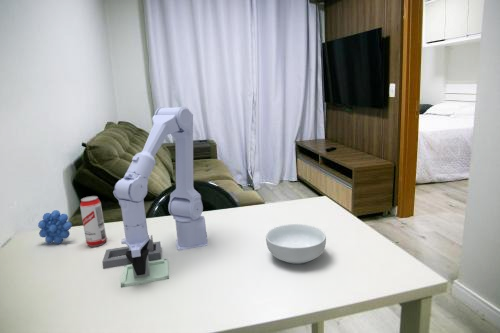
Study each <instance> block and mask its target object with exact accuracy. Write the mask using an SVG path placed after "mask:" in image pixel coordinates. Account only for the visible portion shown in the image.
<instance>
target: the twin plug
mask: <svg viewBox="0 0 500 333" xmlns="http://www.w3.org/2000/svg"><path fill="white" fill-rule="evenodd" d="M148 235H149V234H148ZM149 238H150V241H149V244H148V247H147V249H149V252H153V251H154V245H153V242H154V239H153V234H150V235H149Z"/></svg>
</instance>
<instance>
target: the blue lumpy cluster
mask: <svg viewBox="0 0 500 333" xmlns="http://www.w3.org/2000/svg"><path fill="white" fill-rule="evenodd" d="M37 226H38V229H40V230H39V232H38V234H39V235H38V236H39V237H41V238H44V240H45V243H46V244H51V243H54V244H56V245H58V244H61V243H62V242H63V240H64V239H68V238H69V237H70V234H71V233H70V231H69V230H71V228H72V227H73V224H72V222H71V221H69V216H68V214H66V213H61V212H60V211H59V210H53V211H51V213H50V212H46V213H44V214H43V216H42V220H40V221H39V222H38V224H37Z"/></svg>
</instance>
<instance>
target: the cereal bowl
mask: <svg viewBox="0 0 500 333" xmlns="http://www.w3.org/2000/svg"><path fill="white" fill-rule="evenodd" d="M265 242H266V246H267V249H268V251H269V253H270V254H271V255H272V256H274V257H275V258H276V259H278V260H280V261H283V262H286V263H287V264H288V263H289V264H292V265H297V264H298V265H299V264H305V263H308V262H310V261H313V260H315V259H317V258H319V257H320V256H321V255H322V253H323V252H324V250H326V246H327V245H326V244H327V243H326V242H327V235H326V233H325V232H324V231H323V230H322V229H320V228H319V227H316V226H314V225H309V224H301V223H290V224H284V225H283V224H282V225H279V226H276V227H274V228H271V229H270V230H268V231H267V233H266V234H265Z"/></svg>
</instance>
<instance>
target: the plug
mask: <svg viewBox="0 0 500 333" xmlns="http://www.w3.org/2000/svg"><path fill="white" fill-rule="evenodd" d="M149 262H150V261H149V258H148V256H147V258H146V271H145V274H144V275H138V276H137V275H136V272H135V270H134V267H133V265H132V264H131V265H132V267H133V274H134V279H135V278H141V277H146V276H150V266H149Z"/></svg>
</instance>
